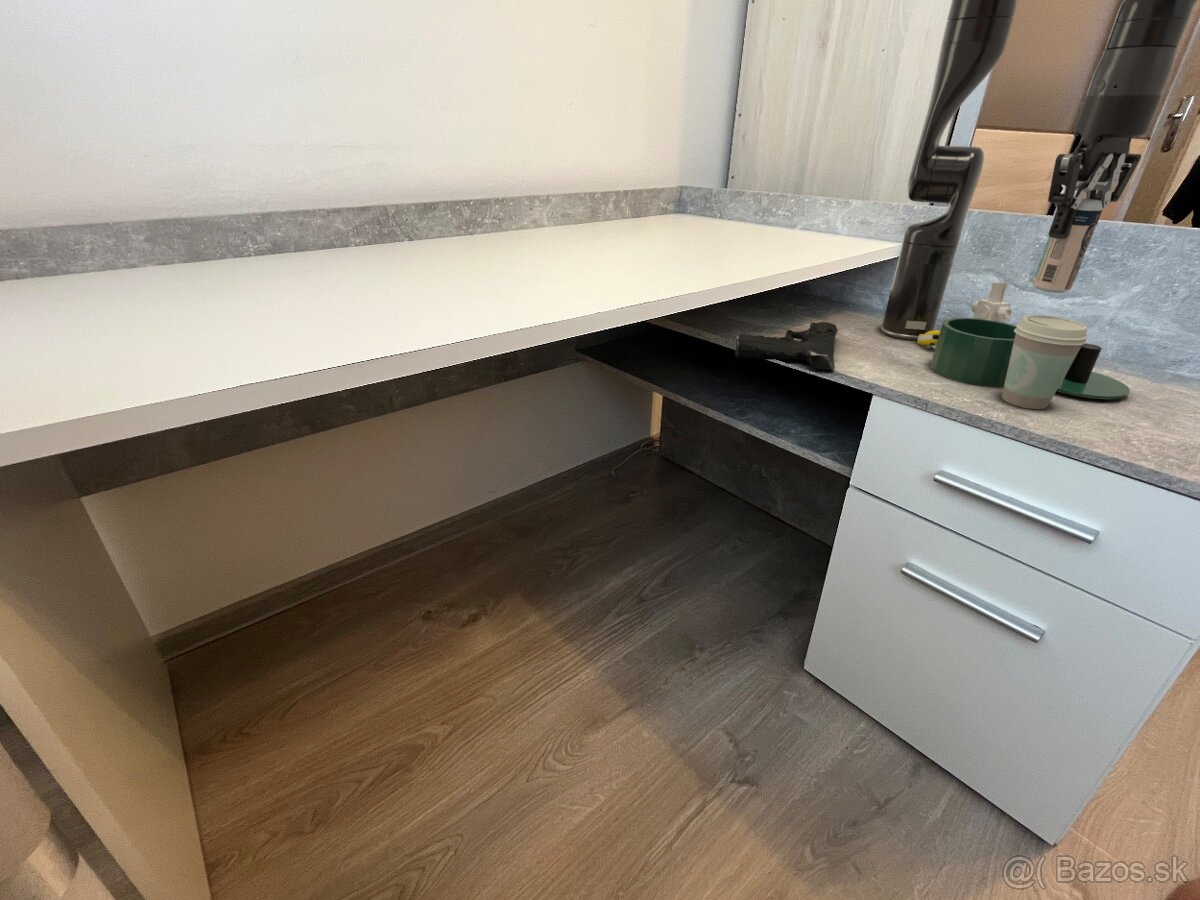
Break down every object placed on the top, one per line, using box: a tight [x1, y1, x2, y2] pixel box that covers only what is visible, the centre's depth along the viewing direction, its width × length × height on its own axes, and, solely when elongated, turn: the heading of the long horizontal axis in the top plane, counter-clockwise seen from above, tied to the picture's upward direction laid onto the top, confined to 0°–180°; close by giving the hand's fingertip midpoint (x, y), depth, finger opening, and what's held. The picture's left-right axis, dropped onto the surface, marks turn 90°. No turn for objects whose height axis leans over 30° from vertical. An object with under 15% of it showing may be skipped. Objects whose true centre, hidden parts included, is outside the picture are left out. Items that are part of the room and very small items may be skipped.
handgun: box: [734, 321, 839, 371], centre depth 108 cm, size 21×17×4 cm
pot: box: [930, 317, 1017, 387], centre depth 98 cm, size 13×13×8 cm
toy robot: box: [970, 282, 1014, 323], centre depth 110 cm, size 4×8×12 cm, turn 16°
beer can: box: [1031, 198, 1104, 294], centre depth 83 cm, size 5×5×12 cm
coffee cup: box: [1001, 314, 1088, 410], centre depth 86 cm, size 8×8×12 cm
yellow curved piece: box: [916, 329, 941, 350], centre depth 110 cm, size 10×6×4 cm, turn 71°
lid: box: [1056, 342, 1131, 400], centre depth 94 cm, size 14×14×7 cm
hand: (1070, 236), depth 82 cm, fingers closed on beer can, 4 cm apart
